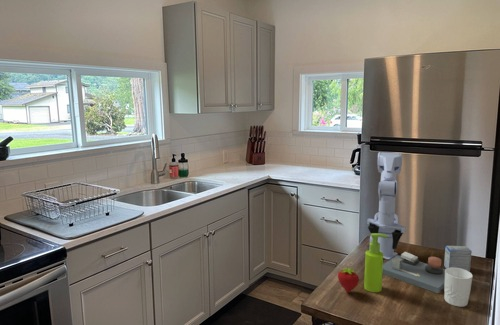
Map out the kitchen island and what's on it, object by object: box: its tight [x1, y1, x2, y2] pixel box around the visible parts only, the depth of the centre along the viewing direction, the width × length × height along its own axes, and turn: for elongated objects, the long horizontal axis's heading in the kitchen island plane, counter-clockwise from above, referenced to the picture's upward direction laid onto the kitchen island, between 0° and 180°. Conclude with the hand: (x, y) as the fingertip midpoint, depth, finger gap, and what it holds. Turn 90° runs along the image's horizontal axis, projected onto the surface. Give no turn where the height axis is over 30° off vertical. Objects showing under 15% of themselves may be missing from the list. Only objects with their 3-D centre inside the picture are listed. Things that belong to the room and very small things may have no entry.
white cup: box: [443, 268, 474, 308], centre depth 123 cm, size 8×8×10 cm
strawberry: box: [337, 267, 360, 293], centre depth 130 cm, size 6×8×10 cm
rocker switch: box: [400, 251, 419, 263], centre depth 148 cm, size 5×4×1 cm
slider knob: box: [391, 256, 403, 270], centre depth 143 cm, size 3×3×4 cm
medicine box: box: [443, 245, 472, 272], centre depth 146 cm, size 8×4×9 cm, turn 84°
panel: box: [382, 254, 446, 294], centre depth 142 cm, size 22×16×3 cm
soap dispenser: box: [363, 233, 388, 293], centre depth 131 cm, size 6×7×20 cm
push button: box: [427, 256, 442, 268], centre depth 140 cm, size 4×4×2 cm
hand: (384, 245), depth 146 cm, fingers open, 7 cm apart
